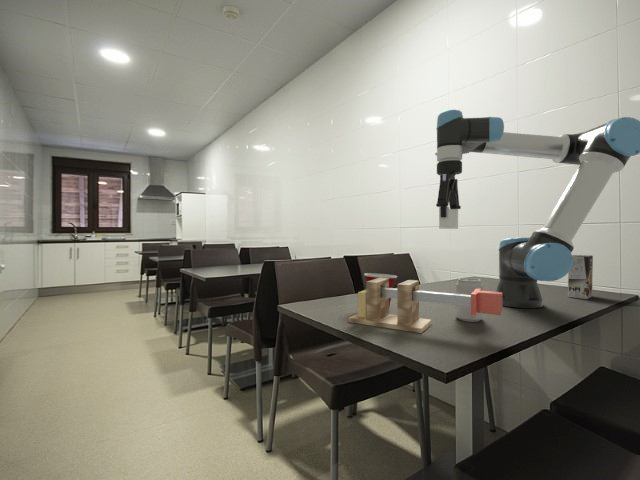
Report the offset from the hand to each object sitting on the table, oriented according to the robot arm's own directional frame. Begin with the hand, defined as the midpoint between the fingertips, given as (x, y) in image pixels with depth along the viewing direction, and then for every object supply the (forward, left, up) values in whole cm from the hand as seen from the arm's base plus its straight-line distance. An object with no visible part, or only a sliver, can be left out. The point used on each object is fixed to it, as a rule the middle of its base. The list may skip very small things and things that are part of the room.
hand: (449, 228), depth 109 cm
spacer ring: (+18, +22, -22) cm, 36 cm away
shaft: (-1, +22, -21) cm, 30 cm away
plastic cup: (+20, +8, -27) cm, 34 cm away
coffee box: (-38, -52, -27) cm, 70 cm away
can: (-7, +6, -27) cm, 28 cm away
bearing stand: (+11, +22, -27) cm, 36 cm away
